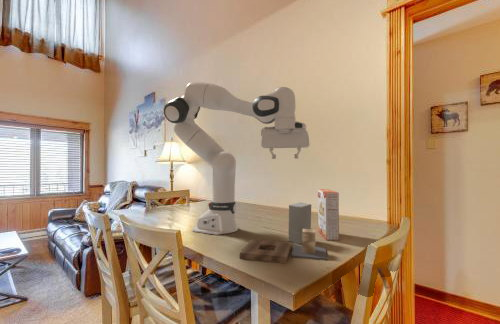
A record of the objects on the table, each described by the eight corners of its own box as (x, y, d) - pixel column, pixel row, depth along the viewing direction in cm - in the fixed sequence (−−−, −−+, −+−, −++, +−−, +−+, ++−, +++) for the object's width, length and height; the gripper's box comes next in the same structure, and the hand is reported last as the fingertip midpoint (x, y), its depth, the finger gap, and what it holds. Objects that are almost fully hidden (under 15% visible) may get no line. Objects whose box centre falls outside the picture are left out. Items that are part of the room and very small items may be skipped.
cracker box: (317, 232, 121) (317, 189, 121) (330, 232, 120) (329, 189, 121) (325, 240, 107) (325, 191, 107) (339, 240, 106) (339, 191, 107)
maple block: (302, 252, 90) (302, 231, 90) (302, 248, 94) (302, 228, 94) (315, 253, 88) (315, 232, 89) (315, 249, 93) (315, 229, 93)
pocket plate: (239, 258, 85) (239, 252, 85) (251, 244, 101) (251, 239, 101) (286, 263, 81) (286, 256, 81) (290, 247, 97) (290, 242, 97)
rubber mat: (291, 256, 87) (291, 255, 87) (293, 246, 99) (293, 244, 99) (327, 260, 84) (327, 258, 84) (325, 248, 96) (325, 247, 96)
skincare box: (298, 237, 111) (298, 202, 112) (312, 240, 106) (312, 203, 107) (287, 241, 105) (287, 203, 106) (301, 245, 100) (301, 205, 101)
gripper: (259, 125, 105) (259, 158, 105) (309, 123, 100) (309, 158, 100) (262, 128, 111) (262, 159, 111) (309, 126, 106) (309, 158, 106)
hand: (285, 158), depth 105 cm, fingers open, 8 cm apart
